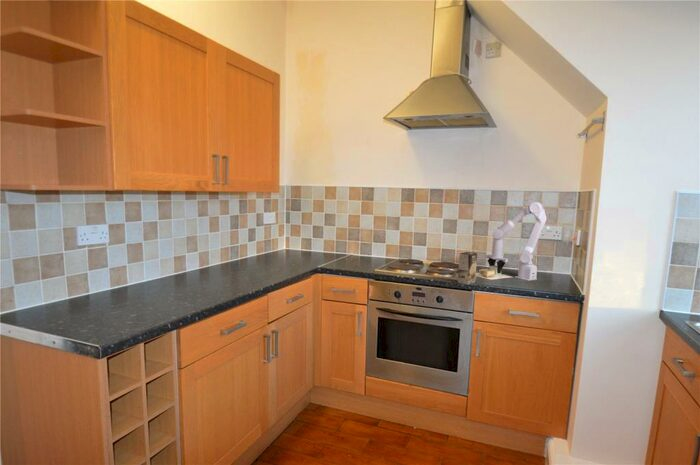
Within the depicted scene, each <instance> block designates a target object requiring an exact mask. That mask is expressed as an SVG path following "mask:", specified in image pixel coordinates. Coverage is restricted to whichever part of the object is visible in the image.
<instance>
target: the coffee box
mask: <svg viewBox="0 0 700 465" xmlns="http://www.w3.org/2000/svg"><path fill="white" fill-rule="evenodd" d="M477 260H478V253H477V252H471V251H465V252H460V253H459V260H458V274H457V283H458V284H464V285H467V286H468V285H471V284H473V283H474V282H476V277H477V276H476V273H477Z"/></svg>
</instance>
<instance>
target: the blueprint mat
mask: <svg viewBox="0 0 700 465" xmlns="http://www.w3.org/2000/svg"><path fill="white" fill-rule="evenodd" d="M476 277H479V278H482V279H486V280H490V281H492V280H500V279H508V278H512V276H510V275H507V274H502V273H501V274H499V275H494V277H491V278H485V277H482V276H479V272H476Z"/></svg>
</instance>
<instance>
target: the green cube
mask: <svg viewBox="0 0 700 465" xmlns="http://www.w3.org/2000/svg"><path fill="white" fill-rule="evenodd" d="M489 270H492V271H495V274H494V275H499V274H502V272H501V273H497V264H495V266H489Z"/></svg>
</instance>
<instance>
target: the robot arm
mask: <svg viewBox="0 0 700 465" xmlns="http://www.w3.org/2000/svg"><path fill="white" fill-rule="evenodd" d="M531 214H532V215H533V217H534V218H535V220H536V221H535V224H534V226H533V228H532V231H531V234H529V235H530V236H529V238H528V241H527V242H526V246H525V248H524V250H523V252H522V253H520V255H519V257H518V259H519V261H518V270H517V271H518V272H517V275H515V276H514V278H516V279H517V278H518V279H521V280H523V281H524V280H525V281H536V280H537V275H538V266H536V265H535V264H533V263H534V262H533V261H532V260H533V259H534V251H535V248H536V246H537V244H538V241H539V239H540V236H541V234H542V232H543V229H544V227H545V224H546V222H547V218H548V217H547V215H546V211H545V207H544V205H543V204H542V203H541V202H539V201H535V202H534V201H533V202H531V203H530V204H529V205H527V206H525V207H524V208H523V209H521V210H520V211H519V212H518V213H517V214H516V215H515V216H514V217H513V218H511V219H507V220H504V221H503V223H502V224H501V225H500V226H498V227H497V229H494V231H493V232H492V238H493V239H492V248H491V255H490V254H485V258H486V259H487V263H488V265H489V267H490V266H495V265H496V266H497V273H501V274H502V270H503V268H504V266H505V265H506V263H509V258H506V257H503V249H504V248H503V247H504V237H505V235H507V234H509V233H510V232H511V231H512V230H513V229H514V228H515V227H516V226H515V225H516V224H517V223H518V222H519V221H521V220H522V219H523V218H524V217H526V216H527V215H528V216H529V215H531Z"/></svg>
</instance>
